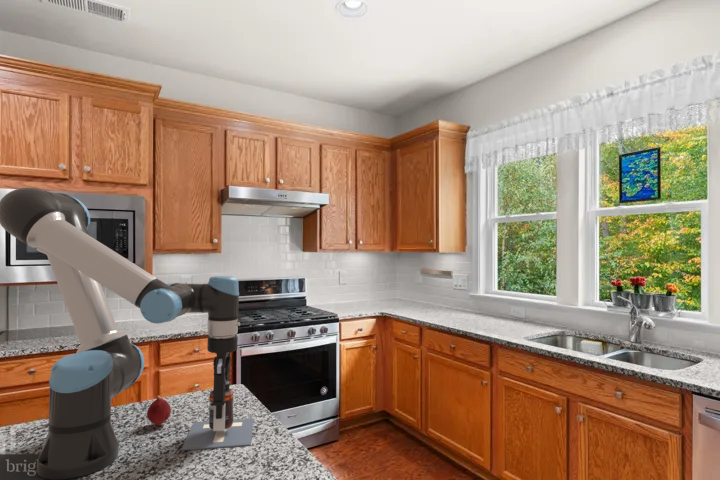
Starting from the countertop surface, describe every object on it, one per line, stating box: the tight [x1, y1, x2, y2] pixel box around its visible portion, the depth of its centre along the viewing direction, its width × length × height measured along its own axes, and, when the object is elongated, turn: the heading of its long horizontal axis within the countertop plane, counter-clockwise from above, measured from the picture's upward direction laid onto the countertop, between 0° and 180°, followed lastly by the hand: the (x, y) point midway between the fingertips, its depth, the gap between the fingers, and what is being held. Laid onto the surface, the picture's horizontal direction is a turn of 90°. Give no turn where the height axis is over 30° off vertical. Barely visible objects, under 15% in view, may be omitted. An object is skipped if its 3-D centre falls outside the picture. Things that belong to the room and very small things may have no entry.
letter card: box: [181, 418, 255, 451], centre depth 110 cm, size 16×16×1 cm
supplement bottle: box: [208, 380, 234, 429], centre depth 110 cm, size 6×6×11 cm
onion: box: [146, 395, 172, 427], centre depth 115 cm, size 6×6×8 cm
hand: (220, 424), depth 110 cm, fingers closed on supplement bottle, 6 cm apart
